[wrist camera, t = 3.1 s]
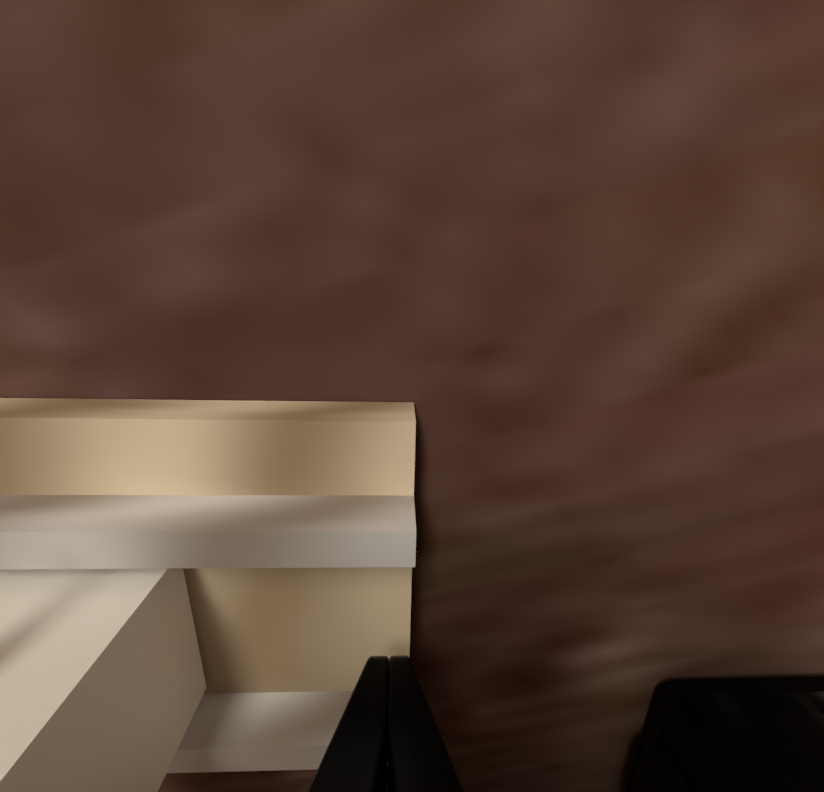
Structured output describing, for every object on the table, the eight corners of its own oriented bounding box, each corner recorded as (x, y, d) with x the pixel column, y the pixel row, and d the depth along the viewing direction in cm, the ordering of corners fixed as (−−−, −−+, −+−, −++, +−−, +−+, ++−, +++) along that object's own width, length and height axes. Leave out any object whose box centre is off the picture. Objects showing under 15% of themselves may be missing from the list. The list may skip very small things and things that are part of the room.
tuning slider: (158, 442, 7) (-144, 652, 3) (220, 757, 10) (98, 1085, 6) (-58, 440, 7) (-663, 659, 3) (65, 761, 10) (-168, 1100, 6)
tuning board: (413, 402, 9) (419, 447, 6) (405, 707, 12) (408, 811, 9) (-431, 393, 8) (-761, 439, 6) (-209, 719, 11) (-368, 835, 9)
